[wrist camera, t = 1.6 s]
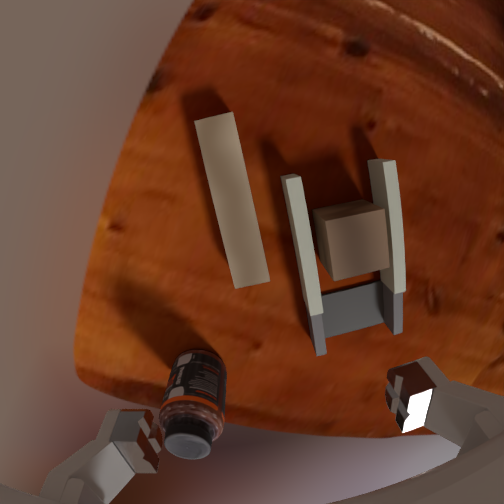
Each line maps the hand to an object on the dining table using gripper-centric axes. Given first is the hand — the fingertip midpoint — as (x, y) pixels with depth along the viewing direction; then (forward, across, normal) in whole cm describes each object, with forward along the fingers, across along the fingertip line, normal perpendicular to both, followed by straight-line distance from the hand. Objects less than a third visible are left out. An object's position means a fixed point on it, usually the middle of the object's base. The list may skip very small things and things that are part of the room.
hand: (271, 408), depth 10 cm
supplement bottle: (+21, +7, +13) cm, 26 cm away
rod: (+21, 0, -4) cm, 21 cm away
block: (+20, -9, 0) cm, 22 cm away
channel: (+20, -9, 0) cm, 22 cm away
